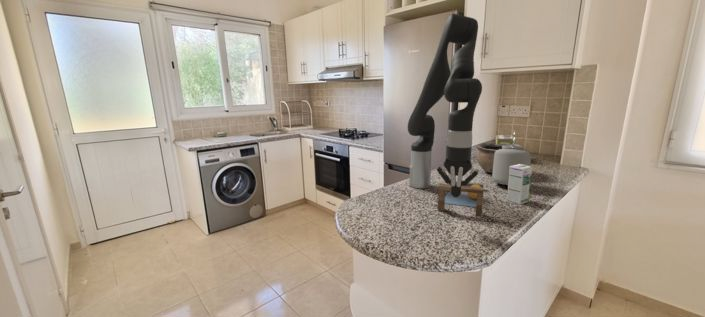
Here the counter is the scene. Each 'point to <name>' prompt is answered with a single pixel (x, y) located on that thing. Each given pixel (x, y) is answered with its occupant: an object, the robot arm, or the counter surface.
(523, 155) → the jar
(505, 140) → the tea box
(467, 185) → the stopper
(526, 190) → the syrup box
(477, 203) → the bridge
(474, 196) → the ball
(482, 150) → the ceramic bowl
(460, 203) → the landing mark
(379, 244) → the counter surface
